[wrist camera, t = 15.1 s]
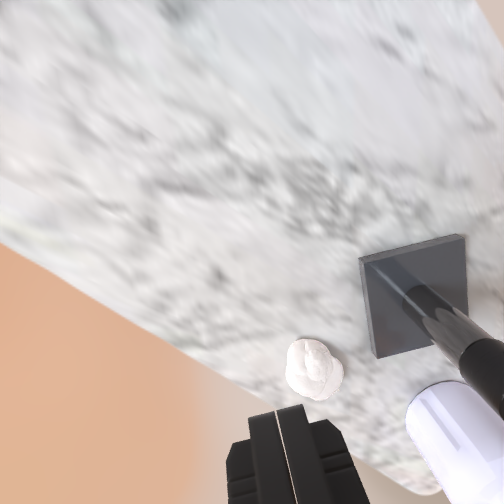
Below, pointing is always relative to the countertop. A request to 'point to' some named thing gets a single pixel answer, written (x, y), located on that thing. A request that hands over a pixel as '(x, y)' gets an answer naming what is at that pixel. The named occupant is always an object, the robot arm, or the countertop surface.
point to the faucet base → (403, 276)
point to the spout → (486, 372)
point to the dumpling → (313, 369)
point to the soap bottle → (459, 442)
